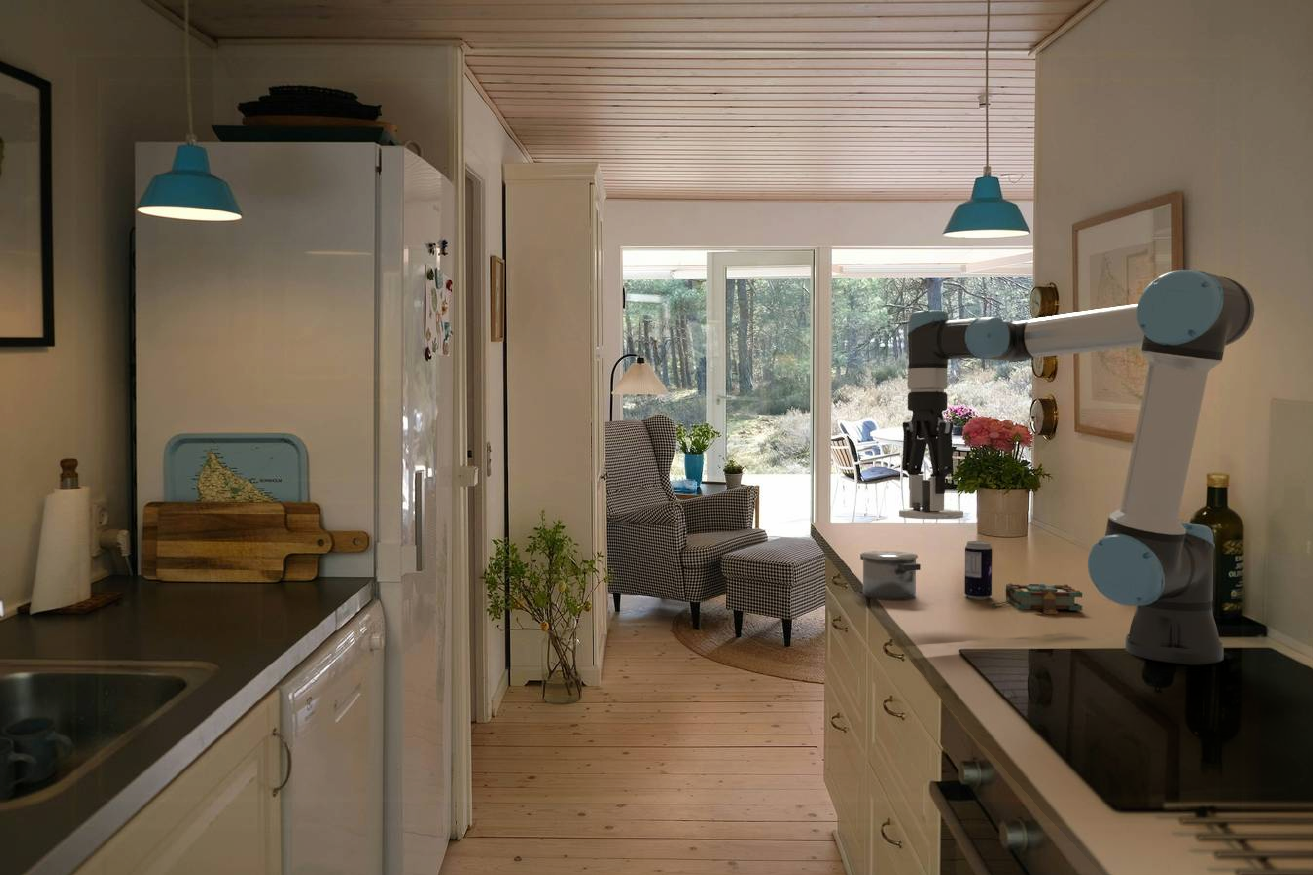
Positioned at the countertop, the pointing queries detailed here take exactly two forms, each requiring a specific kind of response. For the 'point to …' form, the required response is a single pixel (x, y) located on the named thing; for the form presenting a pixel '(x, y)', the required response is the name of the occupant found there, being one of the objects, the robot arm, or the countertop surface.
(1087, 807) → the countertop surface
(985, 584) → the beverage can
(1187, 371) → the robot arm
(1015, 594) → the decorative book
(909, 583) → the pot
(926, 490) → the lid
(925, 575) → the countertop surface
